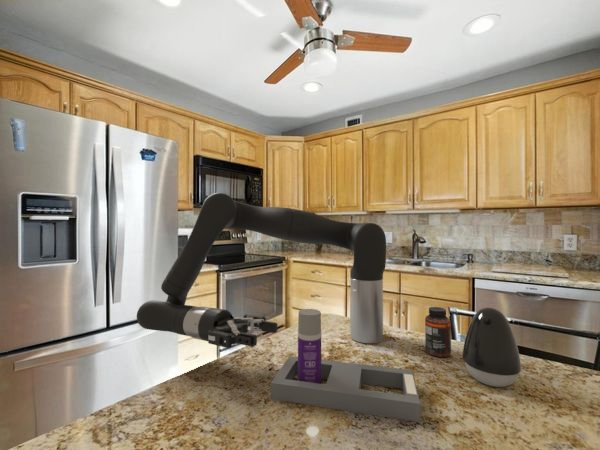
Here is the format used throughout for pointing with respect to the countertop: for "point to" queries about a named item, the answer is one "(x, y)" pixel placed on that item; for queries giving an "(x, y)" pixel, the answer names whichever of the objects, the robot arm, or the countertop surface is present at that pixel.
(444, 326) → the supplement bottle
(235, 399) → the countertop surface
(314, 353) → the container
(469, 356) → the pump dispenser
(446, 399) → the countertop surface
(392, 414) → the socket board
